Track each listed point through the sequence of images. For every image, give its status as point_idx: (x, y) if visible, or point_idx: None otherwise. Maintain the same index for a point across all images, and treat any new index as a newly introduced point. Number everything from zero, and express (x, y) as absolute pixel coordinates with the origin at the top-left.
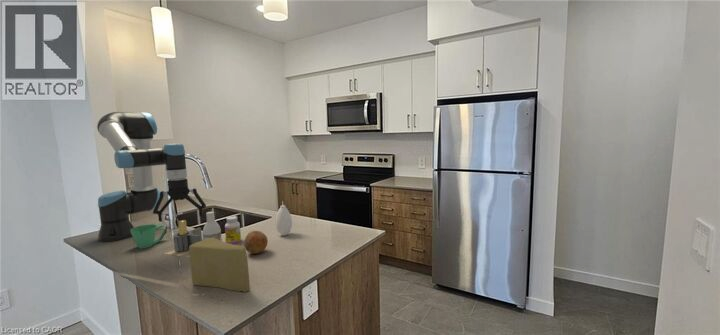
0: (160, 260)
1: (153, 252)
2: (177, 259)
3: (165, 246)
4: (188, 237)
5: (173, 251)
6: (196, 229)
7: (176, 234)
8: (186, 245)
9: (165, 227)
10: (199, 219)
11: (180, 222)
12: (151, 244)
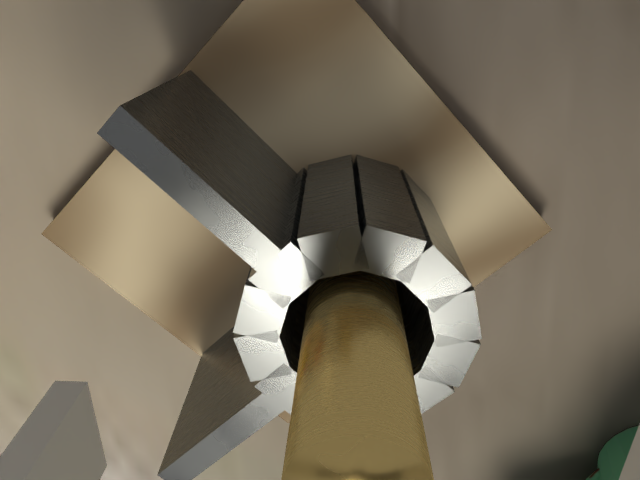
0: (568, 96)
1: (601, 342)
2: (412, 29)
3: (503, 428)
4: (284, 232)
5: (450, 222)
6: (203, 437)
7: (439, 360)
8: (321, 183)
9: (628, 464)
10: (3, 459)
11: (390, 440)
12: (620, 461)
